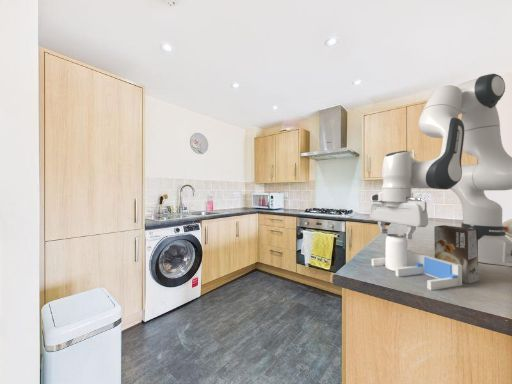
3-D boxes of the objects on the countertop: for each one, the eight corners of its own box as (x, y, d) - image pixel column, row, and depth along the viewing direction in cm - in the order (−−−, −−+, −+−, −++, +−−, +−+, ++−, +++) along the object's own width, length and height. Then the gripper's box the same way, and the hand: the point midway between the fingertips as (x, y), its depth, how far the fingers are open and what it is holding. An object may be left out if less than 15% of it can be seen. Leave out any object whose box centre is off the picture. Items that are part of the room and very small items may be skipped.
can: (410, 273, 72) (411, 237, 72) (389, 272, 73) (389, 237, 73) (401, 266, 78) (402, 234, 78) (382, 265, 79) (382, 233, 79)
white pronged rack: (397, 262, 83) (397, 247, 83) (461, 285, 62) (462, 265, 62) (371, 265, 79) (371, 249, 79) (430, 290, 59) (430, 269, 59)
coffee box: (479, 280, 66) (479, 229, 66) (468, 284, 64) (469, 230, 64) (444, 270, 74) (444, 224, 74) (433, 273, 72) (433, 225, 72)
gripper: (433, 198, 66) (433, 242, 66) (379, 196, 86) (379, 230, 86) (418, 197, 65) (417, 243, 65) (366, 196, 84) (366, 231, 84)
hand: (395, 236), depth 75 cm, fingers open, 8 cm apart
